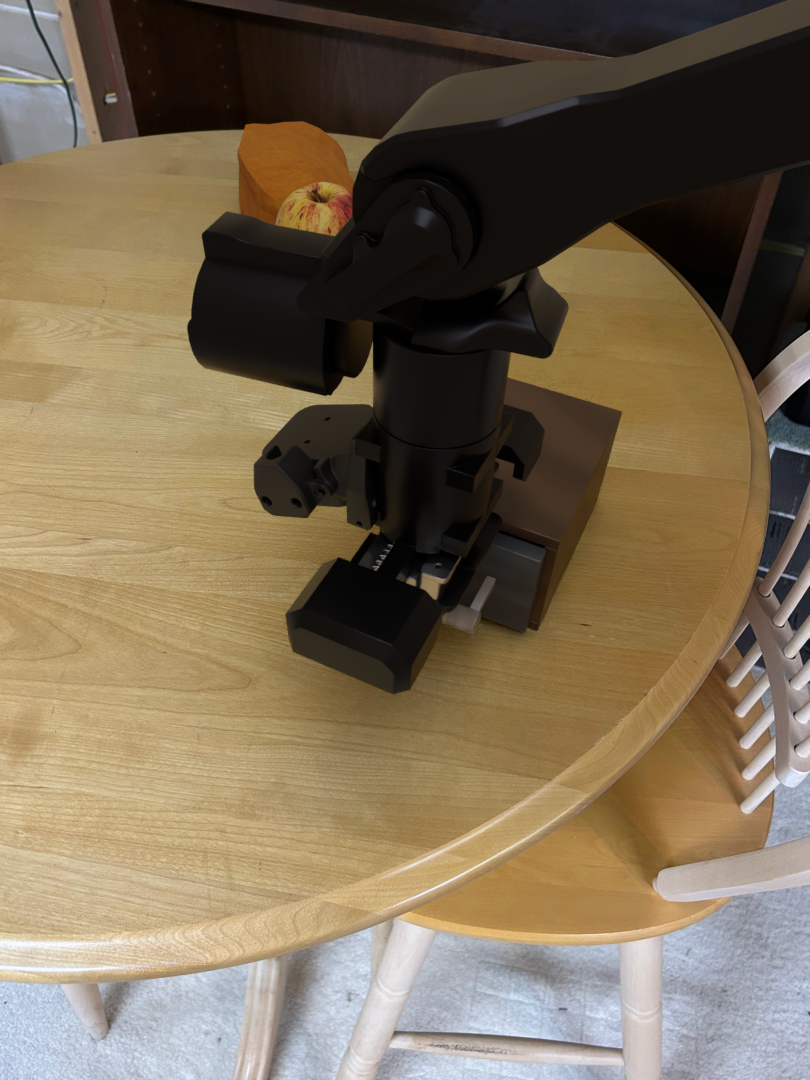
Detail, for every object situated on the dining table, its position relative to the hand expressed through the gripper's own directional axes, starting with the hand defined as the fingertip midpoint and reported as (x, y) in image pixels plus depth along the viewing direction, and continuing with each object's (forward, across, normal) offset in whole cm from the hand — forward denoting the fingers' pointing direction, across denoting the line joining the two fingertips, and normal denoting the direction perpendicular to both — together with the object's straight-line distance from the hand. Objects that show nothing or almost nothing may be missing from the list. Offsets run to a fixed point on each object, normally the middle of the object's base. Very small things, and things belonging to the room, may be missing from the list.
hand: (422, 623), depth 47 cm
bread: (+4, -50, -37) cm, 62 cm away
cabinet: (+4, -13, 0) cm, 13 cm away
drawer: (+4, -9, 0) cm, 10 cm away
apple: (+5, -37, -28) cm, 47 cm away
